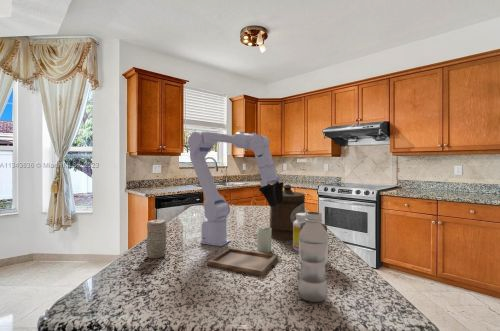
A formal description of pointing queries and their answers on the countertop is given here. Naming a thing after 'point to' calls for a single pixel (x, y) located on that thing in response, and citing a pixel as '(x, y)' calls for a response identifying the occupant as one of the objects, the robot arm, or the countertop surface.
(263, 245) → the cup
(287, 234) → the wooden container
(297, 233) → the supplement bottle
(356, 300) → the countertop surface
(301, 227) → the jar
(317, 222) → the plastic bottle
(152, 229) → the carving
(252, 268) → the tray
